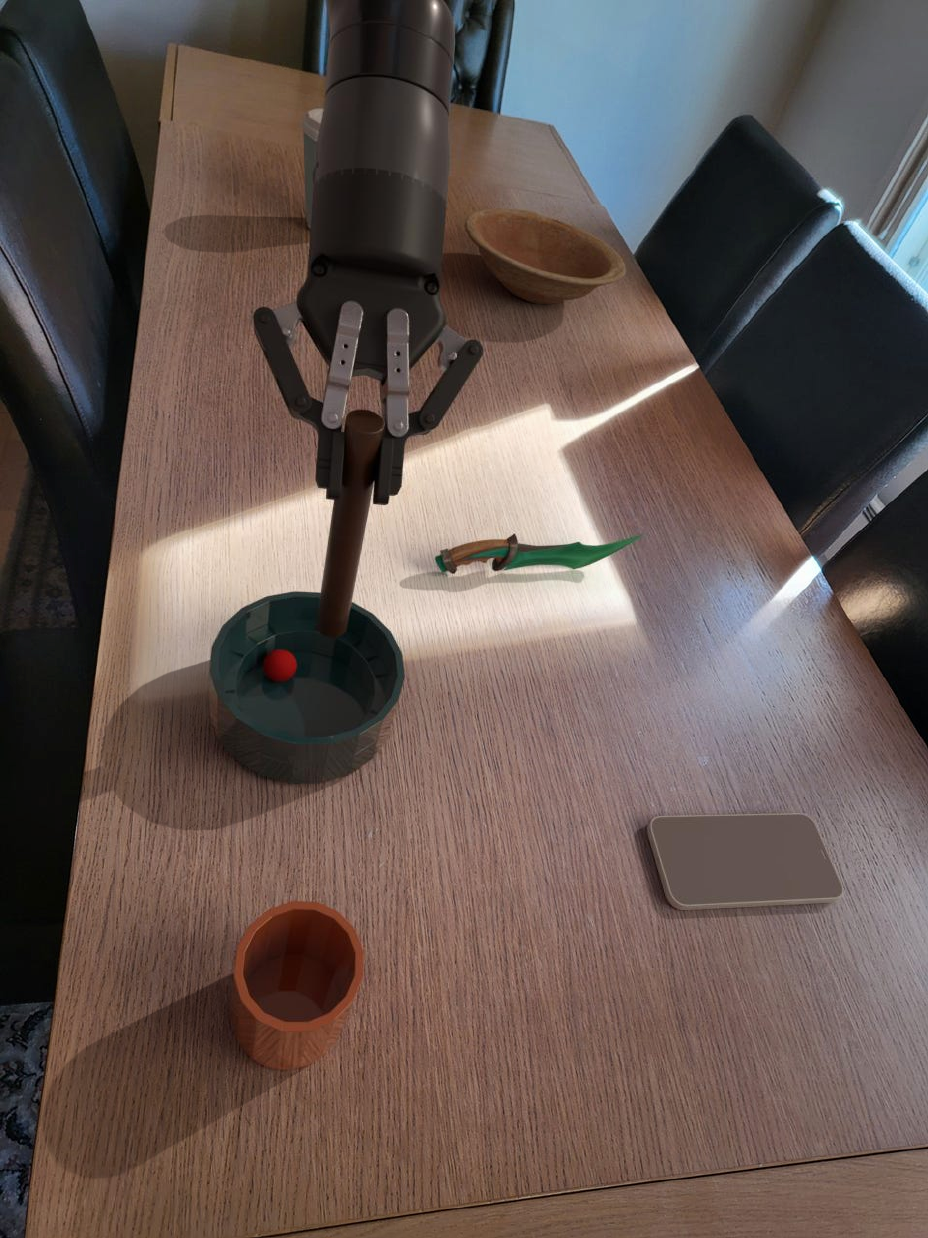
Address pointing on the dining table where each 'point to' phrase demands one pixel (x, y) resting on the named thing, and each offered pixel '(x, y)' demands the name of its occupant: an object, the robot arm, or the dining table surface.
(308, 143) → the disposable coffee cup
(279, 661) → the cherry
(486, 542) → the knife
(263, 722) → the mixing bowl
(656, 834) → the smartphone
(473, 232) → the bowl
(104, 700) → the dining table surface
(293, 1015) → the utensil cup
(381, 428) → the stirring stick
